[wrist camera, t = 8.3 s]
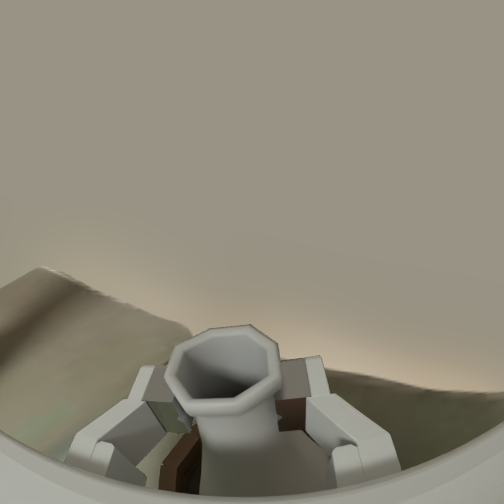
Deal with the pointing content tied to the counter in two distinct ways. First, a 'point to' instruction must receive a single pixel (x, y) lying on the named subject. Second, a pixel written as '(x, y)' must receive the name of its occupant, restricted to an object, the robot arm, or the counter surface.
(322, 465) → the flask
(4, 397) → the counter surface
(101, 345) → the counter surface
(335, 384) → the counter surface
